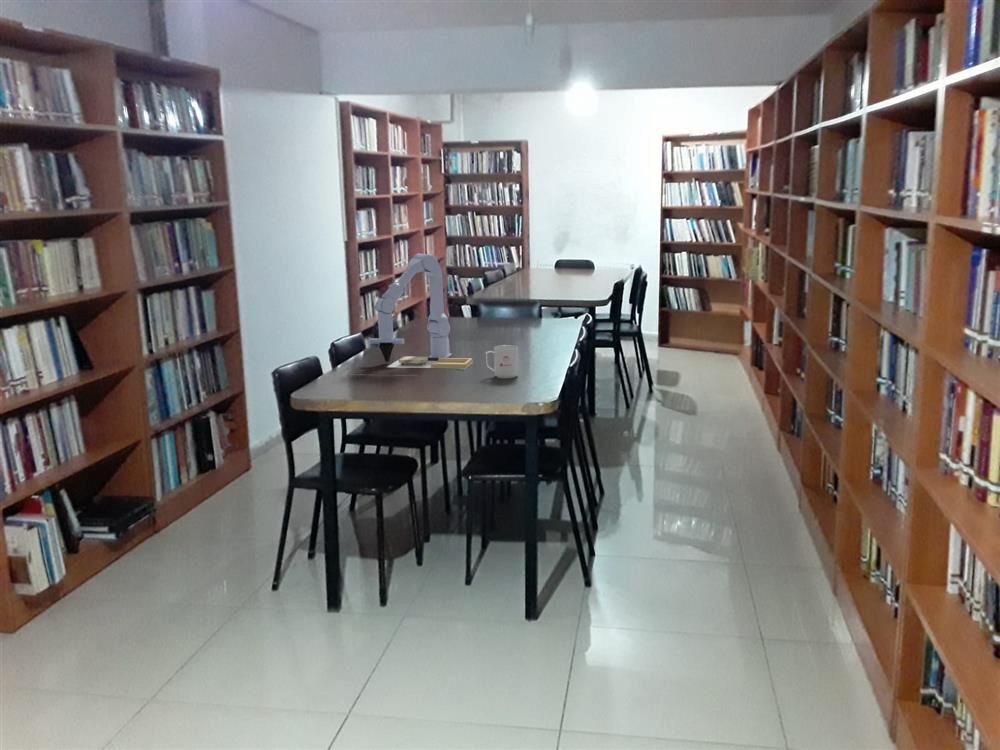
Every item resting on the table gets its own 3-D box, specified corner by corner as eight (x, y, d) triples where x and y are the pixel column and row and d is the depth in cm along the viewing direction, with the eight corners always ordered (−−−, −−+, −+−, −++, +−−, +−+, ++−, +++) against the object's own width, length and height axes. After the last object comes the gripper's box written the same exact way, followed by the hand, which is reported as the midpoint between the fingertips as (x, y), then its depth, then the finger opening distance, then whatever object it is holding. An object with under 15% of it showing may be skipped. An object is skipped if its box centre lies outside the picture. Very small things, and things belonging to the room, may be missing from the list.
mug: (517, 373, 333) (516, 344, 331) (519, 378, 324) (518, 348, 322) (485, 374, 332) (484, 345, 330) (486, 379, 324) (485, 350, 321)
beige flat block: (398, 365, 351) (398, 359, 350) (404, 362, 358) (403, 356, 357) (423, 365, 349) (422, 360, 348) (427, 362, 356) (427, 356, 355)
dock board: (397, 361, 362) (397, 356, 361) (473, 362, 356) (472, 357, 355) (386, 368, 348) (386, 363, 348) (464, 369, 342) (464, 364, 342)
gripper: (365, 329, 350) (367, 363, 353) (399, 329, 347) (401, 363, 350) (371, 326, 357) (372, 359, 360) (405, 327, 354) (406, 360, 357)
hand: (387, 361), depth 355 cm, fingers closed
